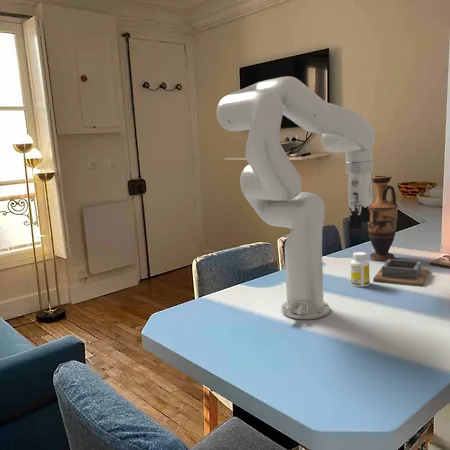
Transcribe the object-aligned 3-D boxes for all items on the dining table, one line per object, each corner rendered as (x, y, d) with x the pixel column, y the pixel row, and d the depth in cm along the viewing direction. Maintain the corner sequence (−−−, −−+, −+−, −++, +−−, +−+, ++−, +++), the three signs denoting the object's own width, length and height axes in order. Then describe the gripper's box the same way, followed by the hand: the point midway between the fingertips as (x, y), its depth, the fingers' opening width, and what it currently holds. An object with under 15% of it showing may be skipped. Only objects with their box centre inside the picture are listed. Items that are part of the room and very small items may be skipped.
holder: (422, 286, 130) (422, 273, 129) (373, 281, 137) (373, 269, 137) (428, 271, 144) (429, 259, 143) (383, 267, 151) (383, 256, 150)
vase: (367, 262, 159) (366, 178, 153) (365, 254, 169) (364, 175, 163) (399, 262, 156) (400, 176, 150) (395, 254, 166) (396, 174, 161)
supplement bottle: (367, 281, 138) (367, 250, 136) (371, 287, 132) (371, 255, 131) (349, 282, 138) (349, 251, 137) (352, 287, 133) (352, 256, 131)
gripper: (365, 170, 120) (366, 231, 123) (378, 164, 134) (379, 219, 138) (337, 171, 124) (339, 230, 127) (353, 165, 138) (355, 219, 141)
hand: (360, 225), depth 132 cm, fingers open, 9 cm apart
